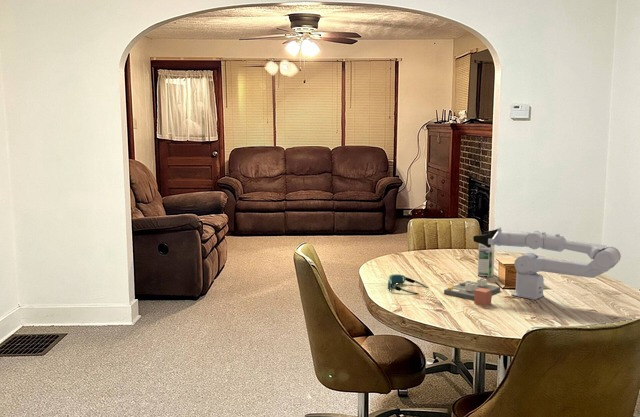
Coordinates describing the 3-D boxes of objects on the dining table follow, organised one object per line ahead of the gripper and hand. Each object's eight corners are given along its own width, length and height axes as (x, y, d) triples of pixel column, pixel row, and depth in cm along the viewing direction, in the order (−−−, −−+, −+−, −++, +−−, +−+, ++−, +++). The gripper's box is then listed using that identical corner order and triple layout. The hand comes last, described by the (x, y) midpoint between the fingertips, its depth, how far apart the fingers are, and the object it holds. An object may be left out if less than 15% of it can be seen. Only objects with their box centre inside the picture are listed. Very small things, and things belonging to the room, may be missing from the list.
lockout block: (491, 303, 220) (491, 289, 220) (485, 306, 217) (485, 292, 216) (480, 301, 223) (480, 287, 223) (474, 303, 220) (474, 290, 219)
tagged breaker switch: (475, 289, 231) (475, 282, 231) (471, 291, 229) (471, 284, 229) (469, 288, 233) (469, 281, 233) (465, 290, 231) (465, 283, 230)
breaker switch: (486, 285, 238) (486, 278, 237) (482, 286, 236) (482, 279, 235) (480, 284, 239) (481, 277, 239) (477, 285, 237) (477, 278, 237)
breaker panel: (500, 290, 236) (500, 284, 236) (477, 300, 223) (477, 294, 223) (467, 284, 246) (468, 278, 245) (444, 293, 233) (444, 287, 232)
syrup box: (477, 276, 259) (478, 242, 257) (480, 273, 264) (481, 240, 262) (490, 277, 257) (492, 243, 255) (493, 274, 262) (495, 241, 260)
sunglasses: (395, 282, 250) (397, 271, 249) (429, 292, 243) (431, 280, 242) (380, 290, 238) (382, 278, 237) (416, 300, 231) (418, 288, 230)
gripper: (518, 224, 236) (485, 223, 244) (503, 232, 225) (469, 230, 233) (519, 242, 237) (485, 240, 245) (504, 250, 226) (470, 248, 234)
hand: (477, 236), depth 239 cm, fingers open, 7 cm apart
